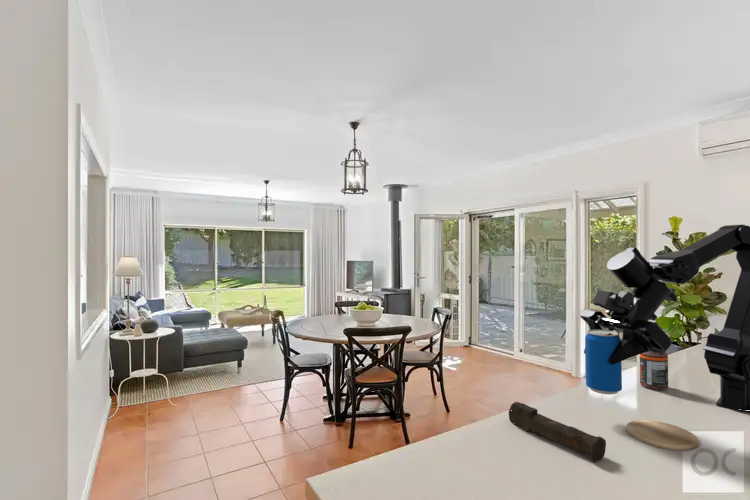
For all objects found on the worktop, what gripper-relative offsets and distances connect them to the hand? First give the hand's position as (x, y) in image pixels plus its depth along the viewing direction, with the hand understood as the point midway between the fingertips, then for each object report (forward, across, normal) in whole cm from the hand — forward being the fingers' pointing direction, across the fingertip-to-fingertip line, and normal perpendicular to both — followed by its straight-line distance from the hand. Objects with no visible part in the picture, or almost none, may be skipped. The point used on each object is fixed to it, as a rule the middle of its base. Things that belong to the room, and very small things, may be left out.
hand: (597, 358), depth 83 cm
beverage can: (+4, 0, +6) cm, 7 cm away
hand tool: (+20, +6, -2) cm, 21 cm away
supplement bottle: (-10, -14, +29) cm, 34 cm away
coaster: (+5, +9, +13) cm, 17 cm away
